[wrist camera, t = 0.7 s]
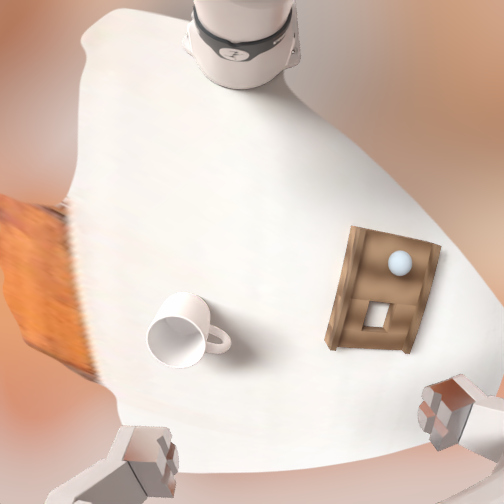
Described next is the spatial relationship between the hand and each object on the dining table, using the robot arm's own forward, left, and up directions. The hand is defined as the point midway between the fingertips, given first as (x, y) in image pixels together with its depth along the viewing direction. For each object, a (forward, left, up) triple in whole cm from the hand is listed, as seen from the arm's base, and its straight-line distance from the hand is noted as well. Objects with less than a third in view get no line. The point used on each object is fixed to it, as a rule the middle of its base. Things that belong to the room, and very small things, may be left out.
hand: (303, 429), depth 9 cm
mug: (+15, -6, -42) cm, 45 cm away
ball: (0, +24, -39) cm, 46 cm away
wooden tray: (+6, +24, -41) cm, 48 cm away
